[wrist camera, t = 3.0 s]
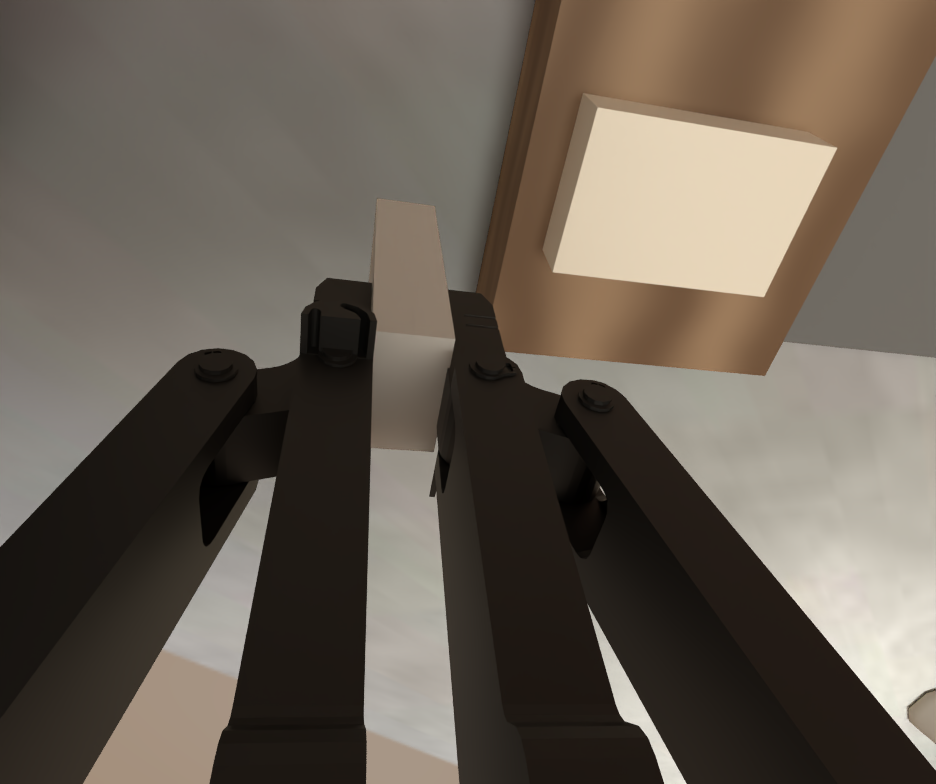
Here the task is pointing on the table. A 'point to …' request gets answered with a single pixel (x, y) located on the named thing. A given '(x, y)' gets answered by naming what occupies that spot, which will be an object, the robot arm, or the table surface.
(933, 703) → the flask
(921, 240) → the mat
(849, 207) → the deck
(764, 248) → the tile
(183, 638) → the table surface
